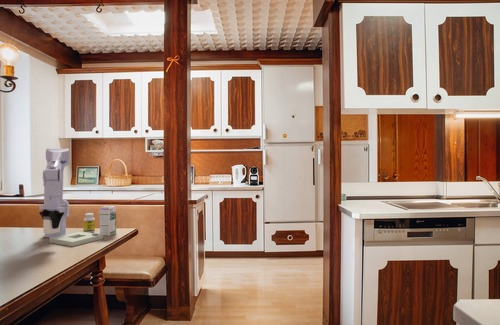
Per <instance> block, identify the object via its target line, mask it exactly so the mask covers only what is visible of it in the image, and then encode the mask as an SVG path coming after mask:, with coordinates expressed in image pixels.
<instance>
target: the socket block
mask: <svg viewBox="0 0 500 325" xmlns="http://www.w3.org/2000/svg"><path fill="white" fill-rule="evenodd" d="M103 239H104V235H102V234H100V233H95V232H92V233H89V232H83V231H76V232H72V233H66V235H61V236H57V237H52V238H49V243H51V244H55V245H56V244H57V245H61V246H62V245H63V246H69V247H75V246H80V245H83V244H84V245H85V244H87V243H91V242H95V241H99V240H103Z"/></svg>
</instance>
